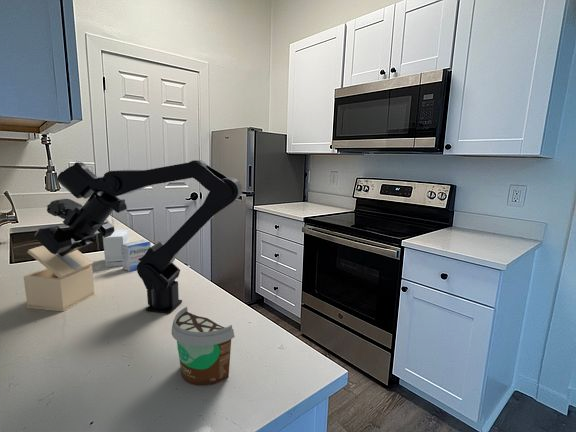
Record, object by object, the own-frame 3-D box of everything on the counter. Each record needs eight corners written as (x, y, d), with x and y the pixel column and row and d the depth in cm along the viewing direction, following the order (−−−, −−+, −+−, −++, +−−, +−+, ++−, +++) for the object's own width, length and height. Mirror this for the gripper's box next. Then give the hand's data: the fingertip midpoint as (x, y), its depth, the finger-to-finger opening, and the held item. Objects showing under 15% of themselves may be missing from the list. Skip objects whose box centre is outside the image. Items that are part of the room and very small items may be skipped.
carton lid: (92, 265, 86) (93, 262, 85) (60, 278, 76) (62, 275, 76) (62, 241, 86) (64, 239, 86) (27, 252, 76) (29, 249, 76)
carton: (94, 294, 87) (92, 266, 86) (63, 311, 77) (60, 279, 76) (62, 291, 89) (58, 263, 87) (27, 307, 79) (23, 276, 77)
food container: (158, 372, 56) (155, 319, 55) (187, 354, 61) (184, 305, 60) (207, 402, 50) (205, 343, 48) (235, 380, 55) (234, 325, 53)
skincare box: (112, 257, 118) (110, 229, 116) (131, 256, 120) (129, 229, 118) (104, 267, 108) (101, 236, 107) (125, 265, 110) (123, 235, 108)
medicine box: (129, 272, 104) (127, 246, 103) (122, 269, 107) (120, 243, 105) (152, 265, 111) (150, 241, 109) (145, 263, 113) (143, 239, 112)
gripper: (99, 184, 86) (68, 224, 90) (35, 191, 68) (-1, 241, 71) (129, 214, 86) (97, 253, 90) (73, 229, 68) (35, 276, 71)
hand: (61, 254), depth 81 cm, fingers closed, pressing on carton lid
